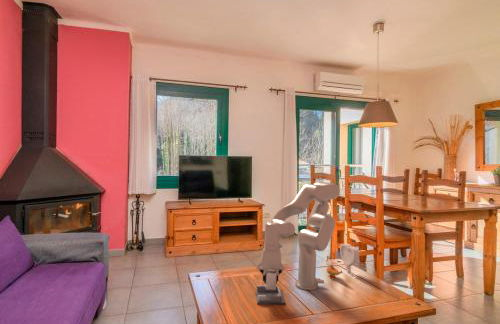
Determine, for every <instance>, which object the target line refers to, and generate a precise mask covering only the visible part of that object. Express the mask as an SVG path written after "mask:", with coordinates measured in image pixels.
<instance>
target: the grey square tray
mask: <svg viewBox="0 0 500 324" xmlns="http://www.w3.org/2000/svg"><path fill="white" fill-rule="evenodd" d="M255 295H256V305H274V306H275V305H276V306H277V305H281V306H283V305H285V306H286V305H287V301H286V298H285V295H284V291H283V289H281V288H280V286H278V285H276V290H268V289H266V287H265V284H264V285H261V284H259V285H256V289H255Z"/></svg>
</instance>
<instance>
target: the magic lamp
mask: <svg viewBox="0 0 500 324" xmlns="http://www.w3.org/2000/svg"><path fill="white" fill-rule="evenodd" d="M329 258H330V256H329V255H326V260H325V261H326V266H327V268H326V272H327V274H329V275H327V278H329V277H330V278H329V279H331V278H336V277H337V276H339V275H340V274H344V273H343V272H341V271H339V270H338V269H337V268H335V267H334V265H333V264H329ZM336 279H337V278H336Z"/></svg>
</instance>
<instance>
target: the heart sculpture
mask: <svg viewBox="0 0 500 324" xmlns="http://www.w3.org/2000/svg"><path fill="white" fill-rule="evenodd" d="M339 251H340V252H339V253H340V256H341V258H342V261H343V262H344V265H345V267H346V269H341V270H342V272H344V273H345V274H347V275H348V276H350V277H357V276H356V275H355V274H354V273H352V271H351V269H352V268H351V267H352V266H354V265H356V264H357V263H358V261H359V259H360V258H359V257H360V251H359V249H358V248H357V247H355V246H352V245H351V244H349V243H341V244H340V246H339ZM344 273H343V274H344ZM351 273H352V274H351ZM345 274H344V275H345ZM347 275H346V276H347ZM354 275H355V276H354ZM348 276H347V277H348Z"/></svg>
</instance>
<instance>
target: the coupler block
mask: <svg viewBox="0 0 500 324" xmlns="http://www.w3.org/2000/svg"><path fill="white" fill-rule="evenodd" d="M276 275H277V274H276V270H267V271H266V283H264V285H265V287H266V289H268V290H276V286H277V284H276Z"/></svg>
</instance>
